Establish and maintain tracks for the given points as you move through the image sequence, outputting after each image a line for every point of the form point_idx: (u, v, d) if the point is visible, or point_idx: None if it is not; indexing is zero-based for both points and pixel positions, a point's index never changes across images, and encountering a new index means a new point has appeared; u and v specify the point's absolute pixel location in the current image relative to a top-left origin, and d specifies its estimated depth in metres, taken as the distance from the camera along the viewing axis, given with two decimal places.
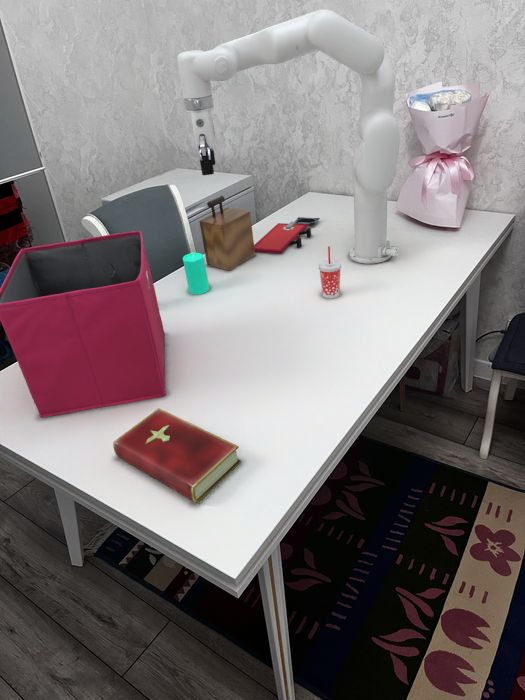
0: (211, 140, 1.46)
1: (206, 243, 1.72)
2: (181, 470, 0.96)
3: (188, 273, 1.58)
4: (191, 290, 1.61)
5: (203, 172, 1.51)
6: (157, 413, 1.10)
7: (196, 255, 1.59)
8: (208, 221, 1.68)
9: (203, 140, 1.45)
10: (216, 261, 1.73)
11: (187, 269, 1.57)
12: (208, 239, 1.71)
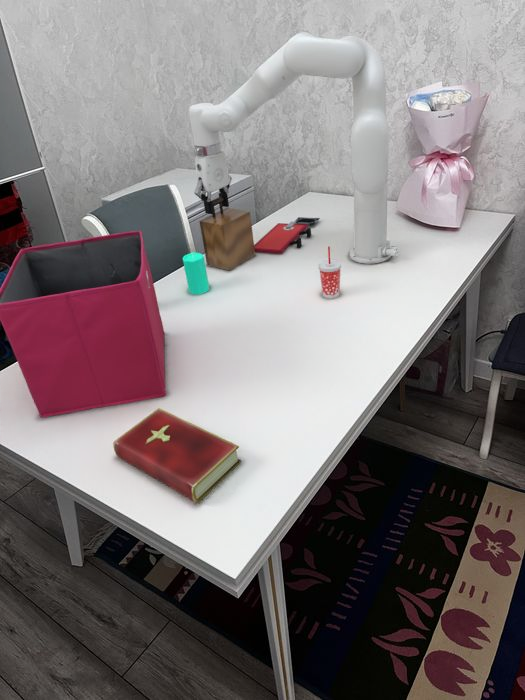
0: (206, 184, 1.62)
1: (206, 243, 1.72)
2: (181, 470, 0.96)
3: (188, 273, 1.58)
4: (191, 290, 1.61)
5: None
6: (157, 413, 1.10)
7: (196, 255, 1.59)
8: (208, 221, 1.68)
9: (199, 186, 1.62)
10: (216, 261, 1.73)
11: (187, 269, 1.57)
12: (208, 239, 1.71)
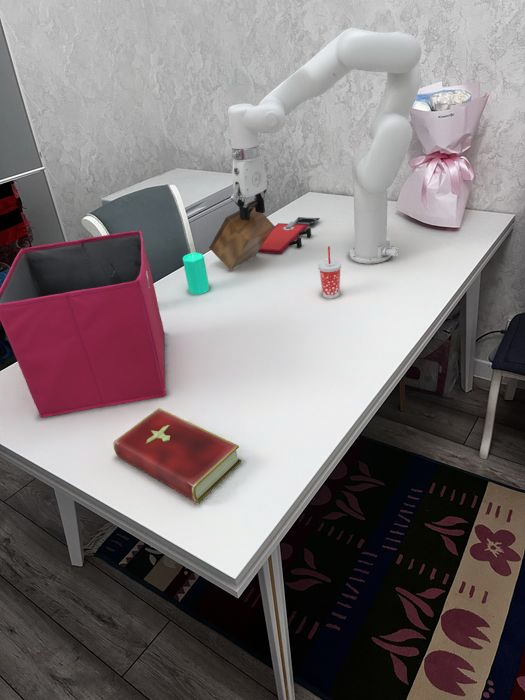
0: (244, 189, 1.53)
1: (220, 235, 1.66)
2: (181, 470, 0.96)
3: (188, 273, 1.58)
4: (191, 290, 1.61)
5: None
6: (157, 413, 1.10)
7: (196, 255, 1.59)
8: (235, 223, 1.61)
9: (235, 191, 1.54)
10: (221, 254, 1.70)
11: (187, 269, 1.57)
12: (225, 235, 1.65)
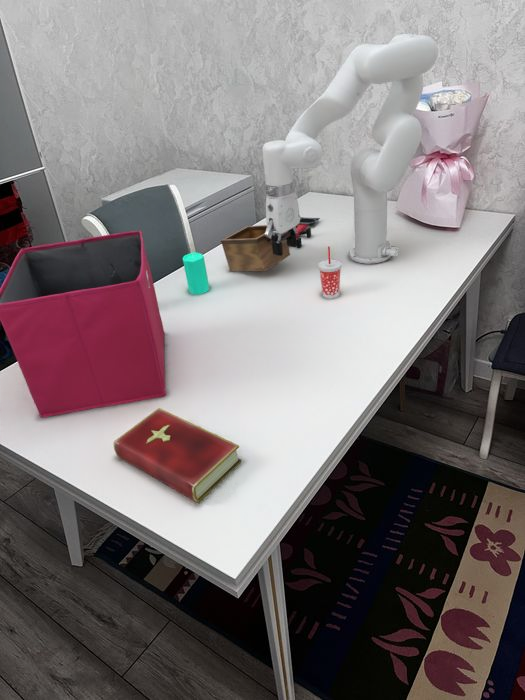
0: (278, 225, 1.52)
1: (240, 244, 1.63)
2: (182, 469, 0.96)
3: (188, 273, 1.58)
4: (191, 290, 1.61)
5: (273, 251, 1.60)
6: (157, 413, 1.10)
7: (196, 255, 1.59)
8: (260, 248, 1.60)
9: (269, 227, 1.53)
10: (229, 254, 1.68)
11: (187, 269, 1.57)
12: (244, 248, 1.63)
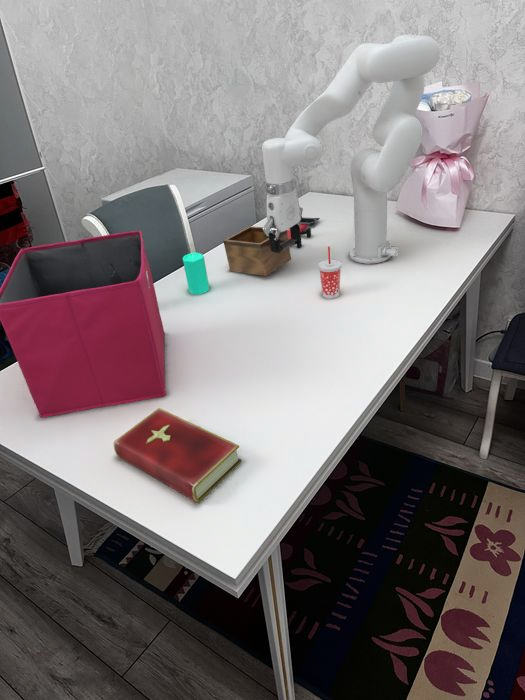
0: (279, 223, 1.52)
1: (242, 247, 1.63)
2: (182, 469, 0.96)
3: (188, 273, 1.58)
4: (191, 290, 1.61)
5: (271, 249, 1.58)
6: (158, 413, 1.10)
7: (196, 255, 1.59)
8: (263, 253, 1.60)
9: (269, 223, 1.51)
10: (231, 255, 1.68)
11: (187, 269, 1.57)
12: (247, 251, 1.63)
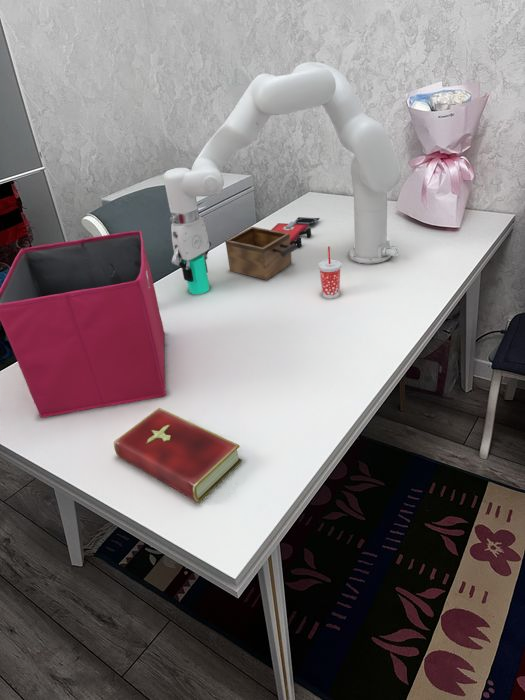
0: (183, 252, 1.51)
1: (245, 249, 1.63)
2: (182, 469, 0.96)
3: None
4: (191, 290, 1.61)
5: None
6: (158, 413, 1.10)
7: None
8: (266, 258, 1.60)
9: (176, 255, 1.52)
10: (232, 256, 1.68)
11: None
12: (249, 254, 1.63)
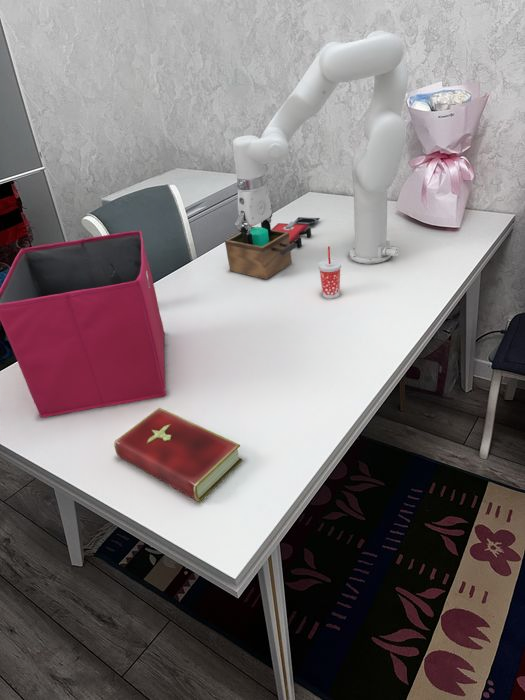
0: (249, 218, 1.57)
1: (244, 249, 1.63)
2: (183, 469, 0.96)
3: None
4: None
5: None
6: (158, 413, 1.10)
7: (260, 229, 1.68)
8: (265, 257, 1.60)
9: (240, 218, 1.57)
10: (232, 256, 1.68)
11: None
12: (249, 253, 1.63)
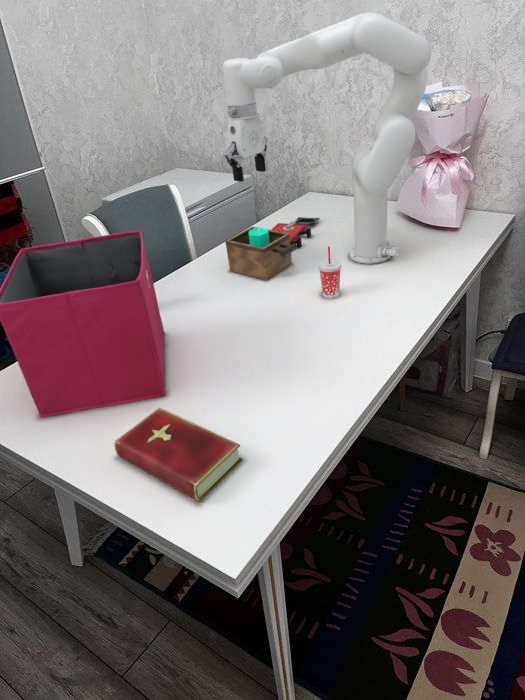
0: (241, 149, 1.47)
1: (245, 249, 1.63)
2: (183, 469, 0.96)
3: None
4: None
5: (234, 178, 1.53)
6: (158, 413, 1.10)
7: (260, 230, 1.67)
8: (266, 258, 1.60)
9: (230, 148, 1.47)
10: (232, 256, 1.68)
11: (253, 243, 1.65)
12: (249, 254, 1.63)
